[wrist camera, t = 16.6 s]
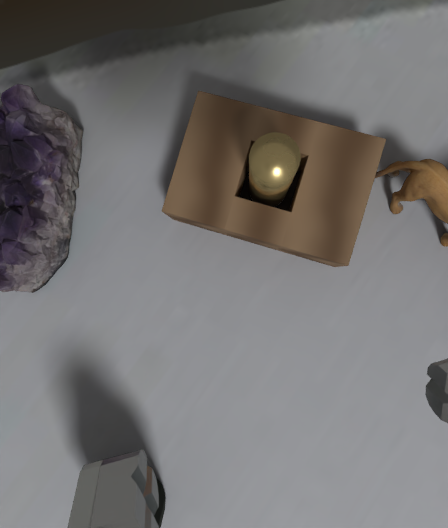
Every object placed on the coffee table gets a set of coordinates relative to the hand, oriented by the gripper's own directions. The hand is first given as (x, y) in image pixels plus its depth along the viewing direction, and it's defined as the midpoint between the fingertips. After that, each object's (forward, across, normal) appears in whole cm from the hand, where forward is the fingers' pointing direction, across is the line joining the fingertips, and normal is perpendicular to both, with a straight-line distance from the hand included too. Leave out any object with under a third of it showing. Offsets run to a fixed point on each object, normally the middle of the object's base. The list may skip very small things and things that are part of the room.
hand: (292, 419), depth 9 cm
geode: (+34, +17, -2) cm, 38 cm away
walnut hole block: (+28, -8, +1) cm, 30 cm away
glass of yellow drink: (+28, -8, +1) cm, 30 cm away
